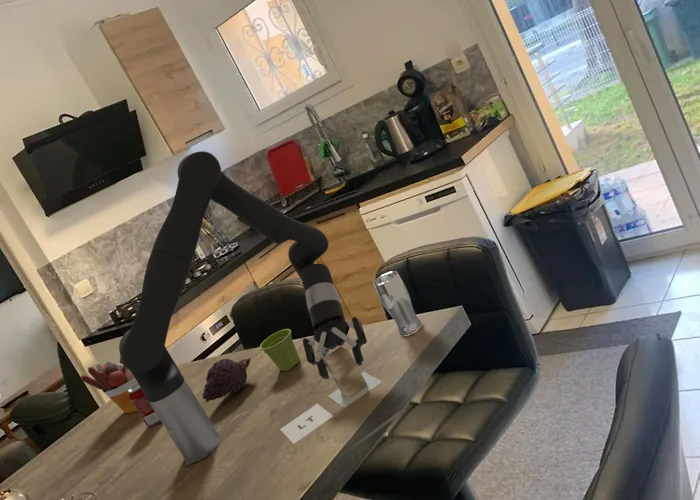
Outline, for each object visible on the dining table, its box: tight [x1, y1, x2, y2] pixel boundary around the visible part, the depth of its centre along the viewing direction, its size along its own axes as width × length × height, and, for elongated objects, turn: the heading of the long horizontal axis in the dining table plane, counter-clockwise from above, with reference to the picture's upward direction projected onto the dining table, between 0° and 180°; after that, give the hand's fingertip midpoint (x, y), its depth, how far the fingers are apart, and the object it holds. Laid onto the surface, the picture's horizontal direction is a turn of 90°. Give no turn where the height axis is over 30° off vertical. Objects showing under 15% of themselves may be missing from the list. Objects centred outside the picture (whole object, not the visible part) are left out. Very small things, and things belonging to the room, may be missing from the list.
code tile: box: [279, 403, 334, 445], centre depth 143 cm, size 10×10×1 cm
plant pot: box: [259, 328, 301, 372], centre depth 179 cm, size 9×9×9 cm
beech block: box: [323, 346, 367, 397], centre depth 147 cm, size 5×5×9 cm
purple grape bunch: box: [202, 357, 251, 403], centre depth 180 cm, size 18×10×10 cm, turn 140°
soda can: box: [128, 383, 162, 427], centre depth 188 cm, size 7×7×12 cm
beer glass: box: [372, 270, 423, 337], centre depth 162 cm, size 7×7×15 cm
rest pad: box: [328, 371, 382, 408], centre depth 148 cm, size 10×10×1 cm
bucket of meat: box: [80, 356, 138, 414], centre depth 208 cm, size 20×16×20 cm
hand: (342, 371), depth 145 cm, fingers open, 7 cm apart
